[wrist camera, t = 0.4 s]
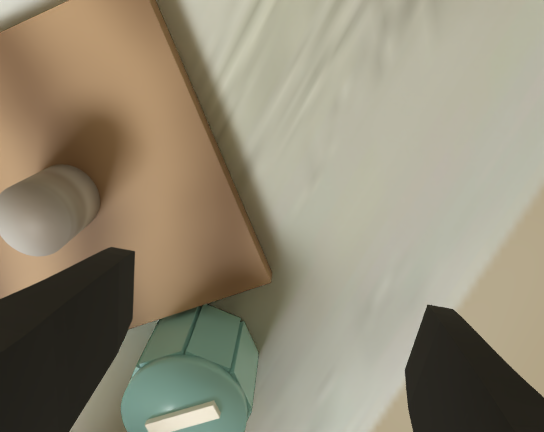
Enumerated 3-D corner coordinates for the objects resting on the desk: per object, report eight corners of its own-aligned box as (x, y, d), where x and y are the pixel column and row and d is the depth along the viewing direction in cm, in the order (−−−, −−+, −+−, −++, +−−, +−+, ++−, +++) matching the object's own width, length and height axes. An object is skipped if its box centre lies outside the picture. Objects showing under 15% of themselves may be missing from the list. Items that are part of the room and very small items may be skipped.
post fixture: (25, 354, 26) (-21, 407, 22) (-137, 102, 22) (-228, 114, 18) (272, 272, 23) (267, 317, 20) (143, -28, 19) (106, -44, 16)
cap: (178, 405, 26) (152, 482, 22) (133, 324, 25) (95, 388, 20) (270, 378, 25) (264, 453, 21) (230, 292, 24) (214, 352, 19)
